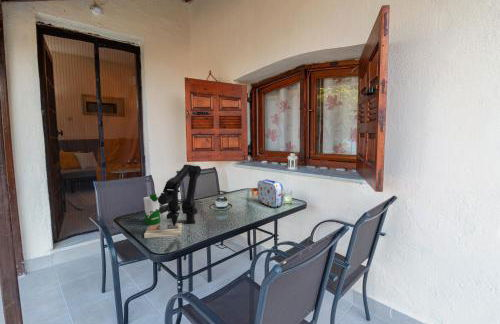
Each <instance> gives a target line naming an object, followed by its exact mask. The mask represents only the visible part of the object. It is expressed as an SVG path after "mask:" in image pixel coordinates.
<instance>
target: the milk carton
mask: <svg viewBox="0 0 500 324" xmlns="http://www.w3.org/2000/svg"><path fill="white" fill-rule="evenodd" d="M158 198H159V196H157V193H153V194H150V195H149V196H146V197H143V203H144V204H143V205H144V223H145V225H148V226H150V225H159V224H161V214H160V212H159V208H160V203H159V202H158Z"/></svg>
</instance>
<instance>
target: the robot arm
mask: <svg viewBox="0 0 500 324" xmlns="http://www.w3.org/2000/svg"><path fill="white" fill-rule="evenodd" d="M201 172H202V168H201V166H200V165H193V164H184V165H183V166H182V167H181V169H180V170H179V171H178V172H177V173H176V174H175V176H173V177H170V178H169V179H168V180H167V181H166V182H165V185H164V188H163V190H162V192H160V195H159V196H158V197H159V198H158V202H159V205H161V206H159V212H160V215H162V214H164V213H166V212H167V214H166V220H171V222H172V223H171V224H173V226H175V224H177V223H178V219H179V216H180V212H179V211H182V214H183V215H184V214H185V224H186V225H189V224H196V219H195V217H196V215H197V214H198V209H197V207H196V202H195V200H194V199H195V193H196V187H197V179H198V178H199V177H200V175H201ZM187 175H188V178H189V180H188V185H187V191H186V197H185V198H184V200H182V202H181V206H180V205H179V203H180V201H179V193H180V192H181V191H180V190H179V189H180V187H181V186H182V181H183V180H184V179H185V177H186V176H187Z"/></svg>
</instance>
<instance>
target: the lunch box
mask: <svg viewBox="0 0 500 324" xmlns="http://www.w3.org/2000/svg"><path fill="white" fill-rule="evenodd" d="M283 196H284V188H283V184H282V183H280V182H279V181H276V180H270V179H263V180H259V181H258V182H257V199H258V201H259V202H260V203H261V202H262V204H263V203H264V204H263V205H265V204H266V205H265V206H267V205H268V207H270V206H271V207H270V208H278V207H282V206H283V201H284V198H283ZM277 206H278V207H277Z"/></svg>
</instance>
